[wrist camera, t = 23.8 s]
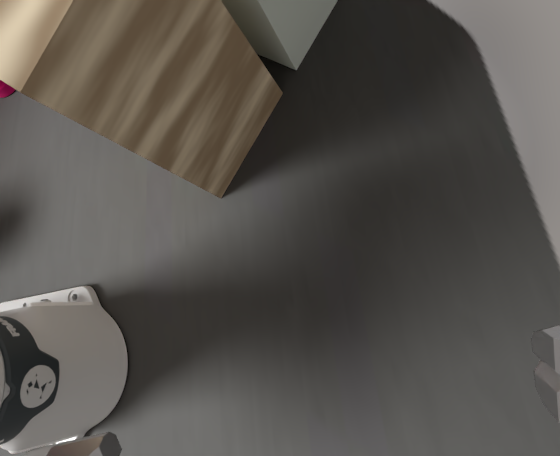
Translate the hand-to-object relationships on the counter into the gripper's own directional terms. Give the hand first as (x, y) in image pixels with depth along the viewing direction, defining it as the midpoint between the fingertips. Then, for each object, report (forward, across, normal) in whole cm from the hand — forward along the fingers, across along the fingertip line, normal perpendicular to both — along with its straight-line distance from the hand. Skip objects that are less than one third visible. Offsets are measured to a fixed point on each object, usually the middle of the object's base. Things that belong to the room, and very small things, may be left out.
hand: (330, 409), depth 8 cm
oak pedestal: (+47, +6, -7) cm, 48 cm away
